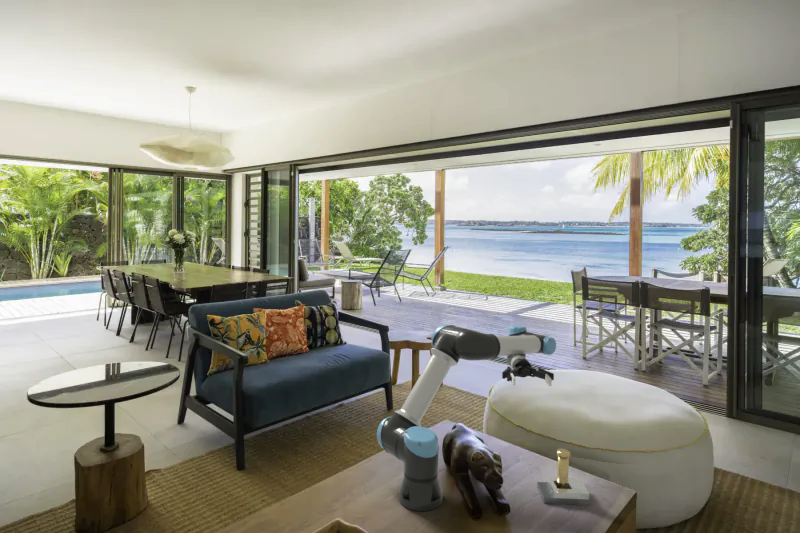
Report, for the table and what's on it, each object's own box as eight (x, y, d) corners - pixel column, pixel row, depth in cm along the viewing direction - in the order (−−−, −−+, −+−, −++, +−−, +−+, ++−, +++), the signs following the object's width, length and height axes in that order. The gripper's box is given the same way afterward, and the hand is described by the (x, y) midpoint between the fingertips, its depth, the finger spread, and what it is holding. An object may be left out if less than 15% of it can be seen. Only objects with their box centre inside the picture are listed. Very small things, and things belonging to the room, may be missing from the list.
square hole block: (544, 503, 157) (544, 491, 157) (537, 487, 167) (537, 476, 167) (589, 505, 156) (589, 493, 156) (579, 488, 166) (579, 478, 166)
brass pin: (557, 499, 159) (558, 454, 158) (554, 492, 164) (555, 448, 163) (570, 499, 159) (572, 454, 158) (566, 492, 164) (568, 448, 163)
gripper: (550, 375, 197) (565, 392, 176) (491, 374, 198) (499, 390, 177) (551, 358, 196) (565, 373, 175) (491, 357, 198) (499, 371, 177)
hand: (532, 382), depth 176 cm, fingers open, 13 cm apart
